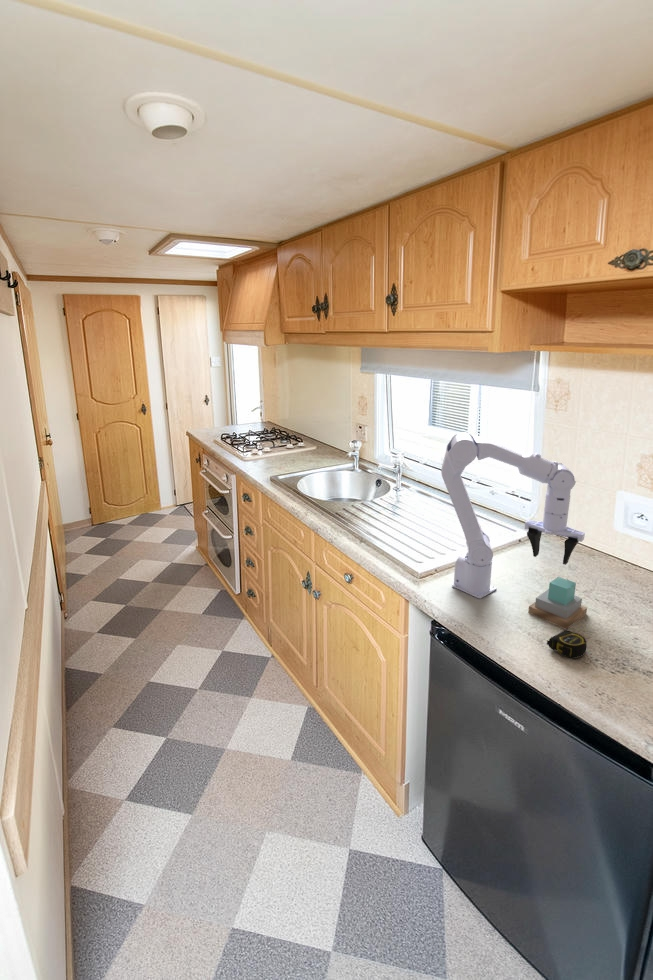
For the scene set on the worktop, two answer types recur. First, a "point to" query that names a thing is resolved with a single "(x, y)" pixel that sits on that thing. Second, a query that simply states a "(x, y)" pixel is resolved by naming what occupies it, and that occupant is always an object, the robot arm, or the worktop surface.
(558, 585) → the teal cube
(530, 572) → the worktop surface
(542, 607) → the tower top block
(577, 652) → the tape measure
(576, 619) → the tower base block
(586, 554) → the worktop surface
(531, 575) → the worktop surface
